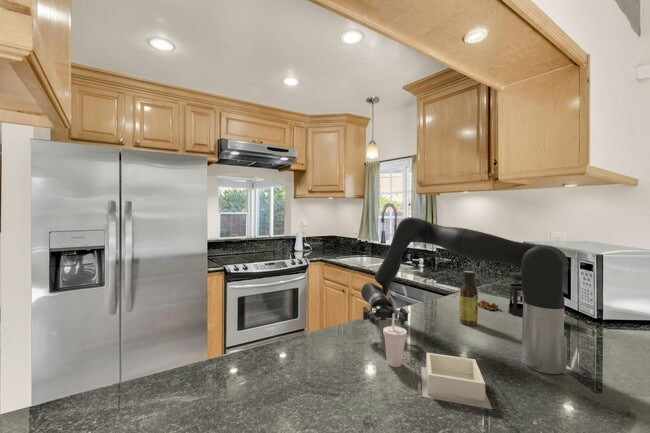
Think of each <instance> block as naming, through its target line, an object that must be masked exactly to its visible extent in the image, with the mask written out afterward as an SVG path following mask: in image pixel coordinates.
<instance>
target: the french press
mask: <svg viewBox="0 0 650 433" xmlns="http://www.w3.org/2000/svg"><path fill="white" fill-rule="evenodd" d="M509 275H510V278H511V280H513V281H520V282H521V272H510V273H509ZM508 285H509V304H508V310H507V312H508V314H510V315H513V316H516V317H519V318H520V317H521V318H523V293H522V287H521V283H509V284H508ZM518 292H520V296H519V293H518Z"/></svg>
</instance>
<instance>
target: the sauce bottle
mask: <svg viewBox="0 0 650 433" xmlns="http://www.w3.org/2000/svg"><path fill="white" fill-rule="evenodd" d="M462 276H463V284H462V285H461V287H460V290H459V293H460V294H459V322H460V323H461V324H463V325H465V326H470V327H471V326H472V327H473V326H476V325H477V324H478V319H479V315H478V314H479V313H478V312H479V311H478V310H479V305H478V302H479V299H478V298H479V293H478V292H479V291H478V289H477V286H476V283H475V276H476V272H475V271H471V270H463V272H462Z"/></svg>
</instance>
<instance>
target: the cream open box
mask: <svg viewBox="0 0 650 433" xmlns="http://www.w3.org/2000/svg"><path fill="white" fill-rule="evenodd" d="M425 357H426V360H425V361H426V362H425V365H426V366H425V367H426V375H427V390H428V395H434V396H439V397H445V398H450V399H456V400H461V401H467V402H473V403H478V404H484V405H485V392H486V382H485V380H484V378H483V375H482V373H481V370H480V368H479V365H478V363H477V360H476V359H474V358H468V357H461V356H454V355H446V354H439V353H432V352H426V356H425Z"/></svg>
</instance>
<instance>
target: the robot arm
mask: <svg viewBox="0 0 650 433" xmlns="http://www.w3.org/2000/svg"><path fill="white" fill-rule="evenodd" d="M411 243H419V244H420V243H422V244H429V245H434V246H437V247H441V248H442V249H445V250H447V251H448V252H450V253H452V254H454V255H456V256H457V255H458V256H461V257H464V258H467V259H471V260H475V261H482V262H488V263H497V264H507V265H511V266H515V267H519V268H521V269H520V270H521V271H520V273H521V281H520V282H521V283H520V284H521V287H522V296H523V303H522V304H523V317H522V333H521V334H522V337H521V338H522V341H521V343H522V344H521V347H522V348H521V361H522V363H523V364H525V365H526V366H527V368H529V369H530V370H532V371H533V370H534V371H537V372H539V373H543V374H547V375H559V374H565V375H566V374H567V354H568V353H567V351H568V338H567V336H565V334H564V332H565V331H564V330H565V329H564V328H565V302H566V301H565V300H566V299H565V296H564V292H563V275H564V274H565V272H566V271H568V268H569V265H570V264H569V263H570V262H569V260H568V257H567V255H566V254H565V253H564V252H563V251H562V250H561V249H559V248H557V247H555V246H552V245H544V244H535V243H526V242H520V241H514V240H511V239H507V238H504V237H502V236H501V237H500V236H498V235H494V234H490V233H486V232H483V231H480V230H479V231H478V230H474V229H471V228H470V229H469V228H463V227H458V226H457V227H456V226H444V225H440V224H436V223H433V222H430V221H426V220H425V219H421V218H417V217H411V216H410V217H404V218H403V219H402V220H401V221H400V222H399V223H398V225H397V227H396V230H395V232H394V236H393V238H392V241H391V243H390V245H389V248H388V251H387V253H386V255H385V258H384V259H383V261H382V262H381V264H380V266H379V268H378V269H377V271H376V273H375V275H374V280H375V281H376V283H377V284H379V285H380V286H381V287H380V286H379V285H377V284H375V283H373V282H365V284H363V285H362V288H361V292H360V294H361V298H362V299H363V301H365V302H367V304H368V307H369V308H368V307H366V306H363V307H362V318H363V320H364V321H367V320H369V323H371V324H372V325H376V321H377V320H379V321H385V320H391V321H392V316H393V314H395V319H394V322H396V321H398V322H399V324H400V325H401V326H404V325H405V324H406V322H408V321H409V312H408V311H407V310H406V309H405V308H404V307H399V309H396V308H394V306H393V304H392V301H391V300H390V299H389V298H388V294H389V289H390V287H391V286H392V283H393V281H394V279H395V278H396V276H397V274H398V273H399V270H400V269H401V264H402V258H403V254H404V252H405V251H406V249H408V246H409V245H410V244H411ZM521 287H520V288H521Z"/></svg>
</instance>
